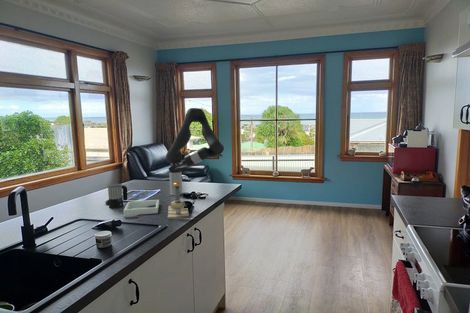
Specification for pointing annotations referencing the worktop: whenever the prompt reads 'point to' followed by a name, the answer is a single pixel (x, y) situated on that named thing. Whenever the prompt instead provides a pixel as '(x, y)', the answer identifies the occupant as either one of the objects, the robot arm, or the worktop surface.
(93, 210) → the worktop surface
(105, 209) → the worktop surface
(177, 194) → the lock pin
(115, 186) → the milk frother
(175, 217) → the pulley board
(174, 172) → the robot arm
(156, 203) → the tray
